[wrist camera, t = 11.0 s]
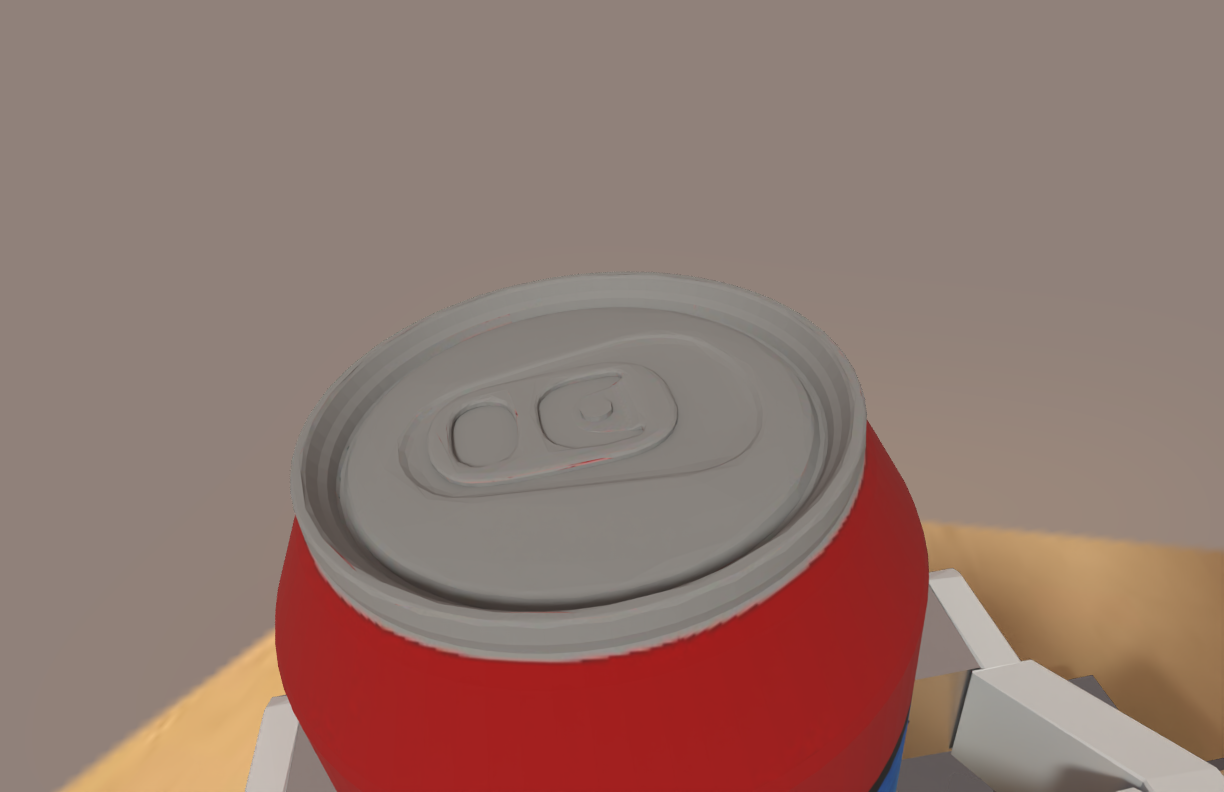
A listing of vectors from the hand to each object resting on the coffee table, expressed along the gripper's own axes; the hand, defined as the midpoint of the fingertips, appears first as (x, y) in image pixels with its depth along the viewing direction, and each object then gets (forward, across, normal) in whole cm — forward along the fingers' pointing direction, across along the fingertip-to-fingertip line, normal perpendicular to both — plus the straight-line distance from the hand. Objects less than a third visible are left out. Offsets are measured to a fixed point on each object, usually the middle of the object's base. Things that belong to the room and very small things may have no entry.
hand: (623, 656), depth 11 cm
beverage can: (-1, 0, +7) cm, 7 cm away
